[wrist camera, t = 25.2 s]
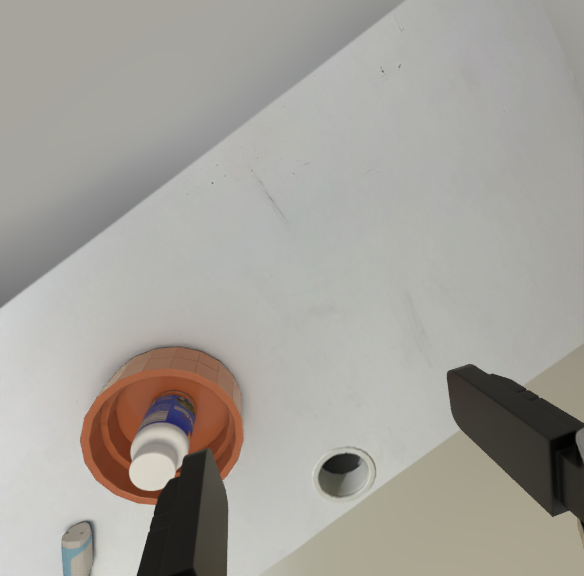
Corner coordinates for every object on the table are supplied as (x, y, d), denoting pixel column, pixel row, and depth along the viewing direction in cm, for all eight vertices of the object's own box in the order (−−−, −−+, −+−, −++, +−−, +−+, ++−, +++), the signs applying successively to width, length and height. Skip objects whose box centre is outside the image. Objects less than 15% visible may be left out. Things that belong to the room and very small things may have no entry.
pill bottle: (204, 419, 40) (195, 482, 30) (161, 437, 39) (138, 508, 30) (184, 381, 38) (168, 436, 29) (139, 400, 38) (108, 462, 28)
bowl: (93, 455, 39) (68, 497, 33) (118, 332, 36) (96, 355, 31) (224, 470, 42) (223, 511, 37) (255, 359, 40) (259, 384, 34)
